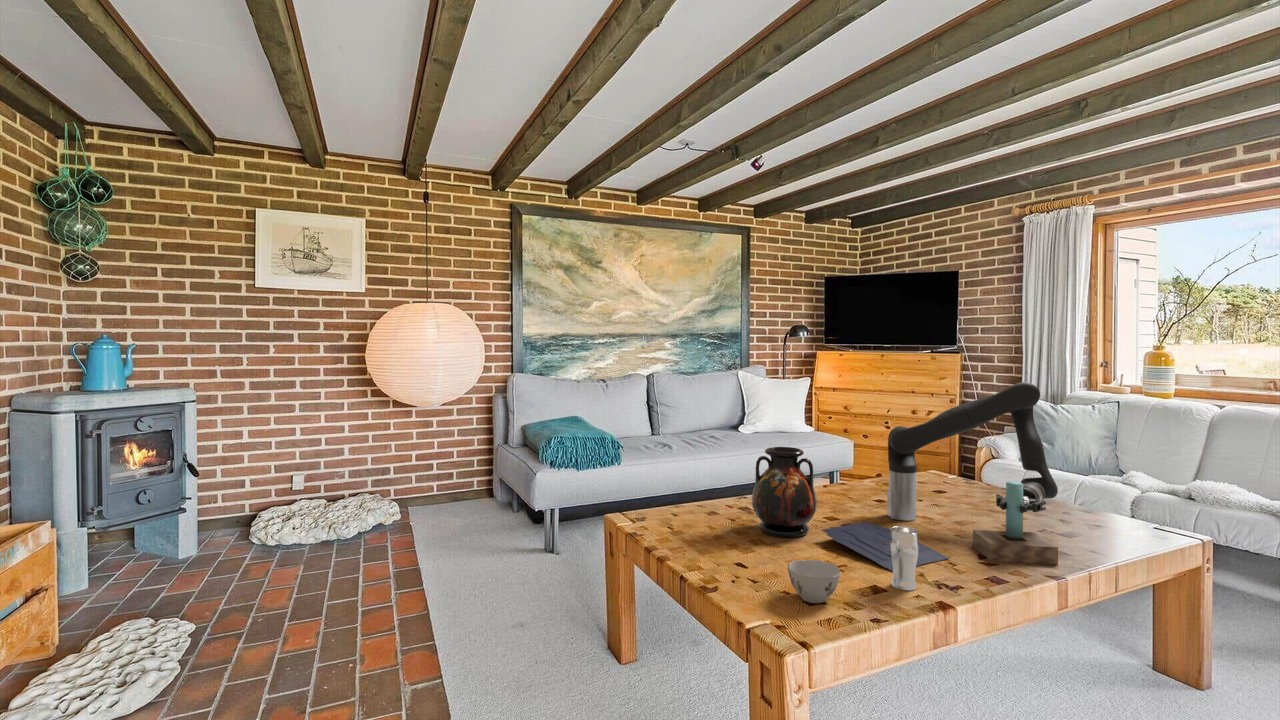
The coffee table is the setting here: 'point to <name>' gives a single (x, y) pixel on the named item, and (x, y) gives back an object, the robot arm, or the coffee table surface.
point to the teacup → (813, 579)
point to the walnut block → (1015, 547)
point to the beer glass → (904, 557)
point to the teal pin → (1014, 509)
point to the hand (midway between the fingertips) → (1012, 508)
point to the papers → (876, 543)
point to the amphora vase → (784, 494)
